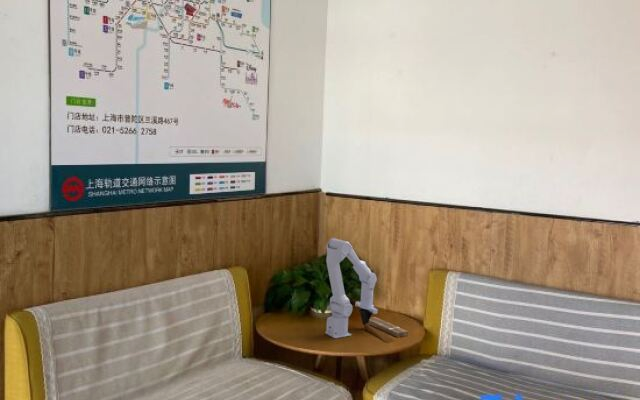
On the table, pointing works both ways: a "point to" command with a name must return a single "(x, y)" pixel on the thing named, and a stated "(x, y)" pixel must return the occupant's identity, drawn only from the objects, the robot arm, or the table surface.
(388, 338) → the primitive tool
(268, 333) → the table surface
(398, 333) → the walnut plank
